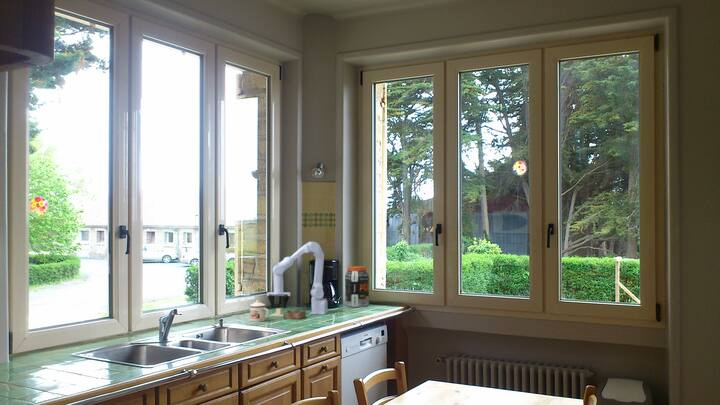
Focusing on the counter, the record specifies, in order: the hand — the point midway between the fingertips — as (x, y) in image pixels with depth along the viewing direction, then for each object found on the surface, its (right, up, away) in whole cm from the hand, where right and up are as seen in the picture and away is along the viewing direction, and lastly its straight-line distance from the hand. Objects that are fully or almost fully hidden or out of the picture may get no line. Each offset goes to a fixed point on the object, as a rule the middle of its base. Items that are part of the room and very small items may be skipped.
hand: (278, 307), depth 393 cm
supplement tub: (+47, -5, +40) cm, 62 cm away
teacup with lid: (-9, -5, -17) cm, 20 cm away
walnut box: (+11, -5, -9) cm, 15 cm away
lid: (0, -5, 0) cm, 5 cm away
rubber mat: (0, -5, 0) cm, 5 cm away
